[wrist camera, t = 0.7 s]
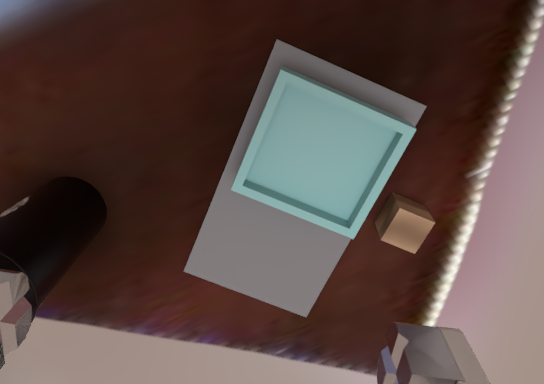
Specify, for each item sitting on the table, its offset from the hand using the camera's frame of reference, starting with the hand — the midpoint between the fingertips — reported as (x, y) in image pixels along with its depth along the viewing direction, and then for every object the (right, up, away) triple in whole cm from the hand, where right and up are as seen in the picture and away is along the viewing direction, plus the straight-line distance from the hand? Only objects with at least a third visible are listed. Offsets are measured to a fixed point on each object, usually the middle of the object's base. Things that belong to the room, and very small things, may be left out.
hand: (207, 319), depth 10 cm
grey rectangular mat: (+4, +2, +44) cm, 44 cm away
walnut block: (+17, 0, +44) cm, 48 cm away
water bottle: (-24, +1, +46) cm, 52 cm away
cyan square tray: (+7, +8, +41) cm, 43 cm away
